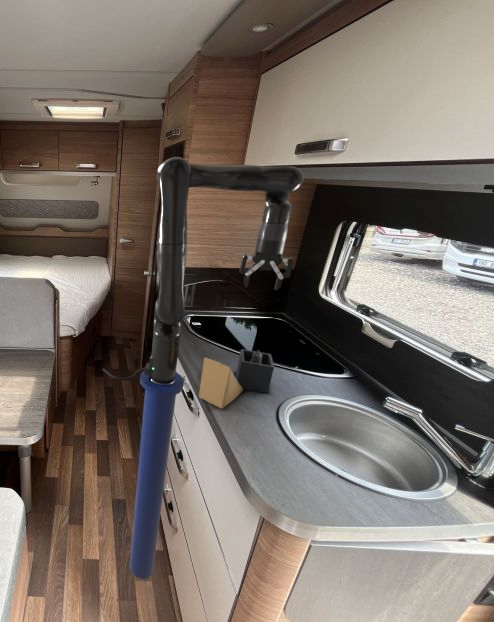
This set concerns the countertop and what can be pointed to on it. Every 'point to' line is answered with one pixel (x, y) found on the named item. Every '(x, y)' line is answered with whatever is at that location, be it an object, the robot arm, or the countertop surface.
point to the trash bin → (254, 371)
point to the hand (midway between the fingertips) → (260, 288)
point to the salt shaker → (256, 357)
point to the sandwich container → (218, 384)
